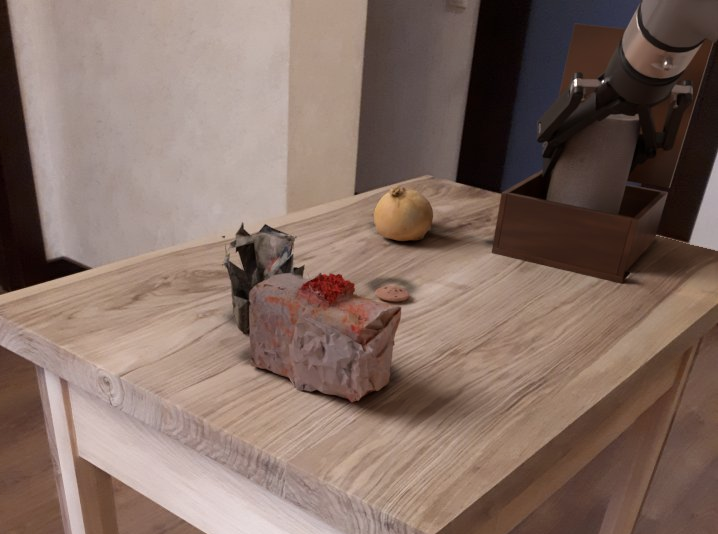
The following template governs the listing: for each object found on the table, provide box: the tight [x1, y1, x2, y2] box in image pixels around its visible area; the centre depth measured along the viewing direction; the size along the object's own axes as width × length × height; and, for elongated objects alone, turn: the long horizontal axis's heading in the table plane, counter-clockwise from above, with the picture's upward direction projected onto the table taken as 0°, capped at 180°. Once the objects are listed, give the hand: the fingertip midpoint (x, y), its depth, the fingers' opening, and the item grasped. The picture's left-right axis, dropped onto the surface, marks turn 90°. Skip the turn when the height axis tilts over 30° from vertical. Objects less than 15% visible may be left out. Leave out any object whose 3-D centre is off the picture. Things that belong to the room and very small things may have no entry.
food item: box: [248, 272, 402, 403], centre depth 71 cm, size 14×8×10 cm, turn 58°
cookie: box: [374, 285, 411, 302], centre depth 91 cm, size 4×4×1 cm
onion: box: [373, 184, 434, 242], centre depth 107 cm, size 8×8×7 cm
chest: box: [491, 169, 669, 284], centre depth 107 cm, size 17×18×8 cm
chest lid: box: [557, 22, 715, 189], centre depth 106 cm, size 18×18×1 cm
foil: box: [221, 221, 311, 334], centre depth 85 cm, size 12×11×15 cm
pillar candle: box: [546, 104, 641, 215], centre depth 102 cm, size 10×10×15 cm
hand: (583, 170), depth 105 cm, fingers closed on pillar candle, 9 cm apart
